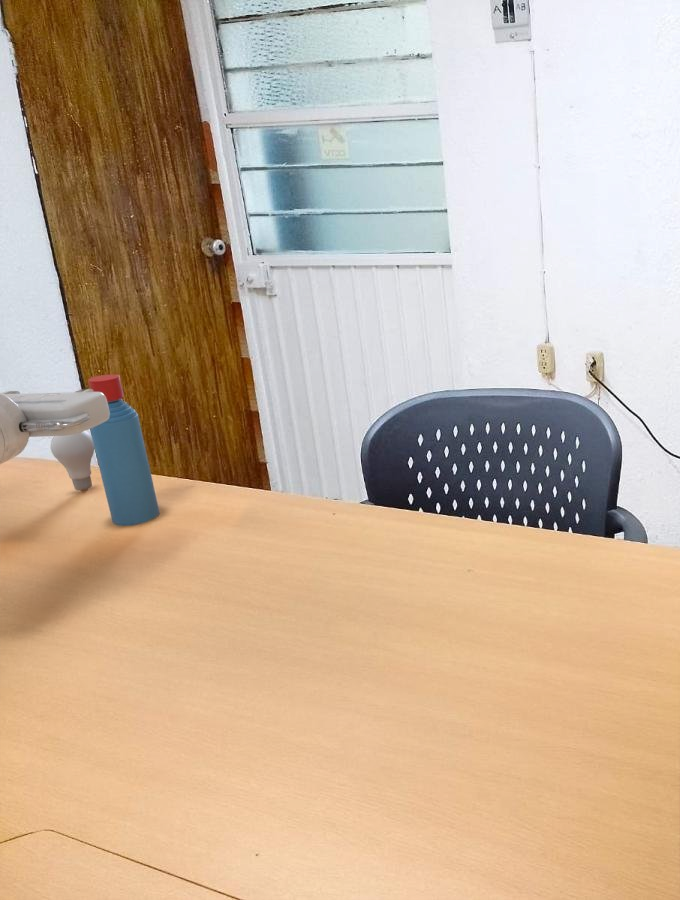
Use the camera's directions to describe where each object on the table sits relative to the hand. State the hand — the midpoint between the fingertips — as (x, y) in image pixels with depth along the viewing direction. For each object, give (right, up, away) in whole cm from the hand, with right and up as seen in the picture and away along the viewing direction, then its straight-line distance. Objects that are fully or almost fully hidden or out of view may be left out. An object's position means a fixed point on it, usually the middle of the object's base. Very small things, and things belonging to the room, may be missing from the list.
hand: (52, 395), depth 108 cm
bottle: (0, -17, +19) cm, 26 cm away
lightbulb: (-14, -14, +30) cm, 36 cm away
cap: (0, 0, +12) cm, 12 cm away
